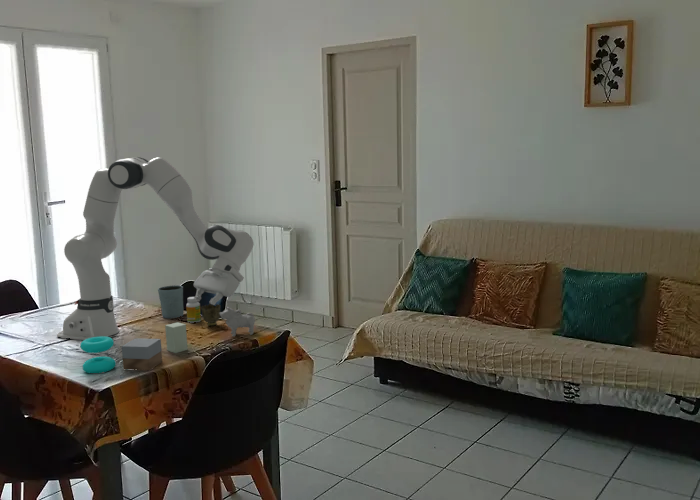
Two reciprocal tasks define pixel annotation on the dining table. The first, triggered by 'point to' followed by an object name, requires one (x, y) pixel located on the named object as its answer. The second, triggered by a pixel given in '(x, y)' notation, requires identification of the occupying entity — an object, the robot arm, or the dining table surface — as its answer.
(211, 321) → the cup
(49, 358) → the dining table surface
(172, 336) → the sage block
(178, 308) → the grey-blue plant pot
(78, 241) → the robot arm
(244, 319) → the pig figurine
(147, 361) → the tower bottom slab
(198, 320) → the supplement bottle
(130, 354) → the tower top slab
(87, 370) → the donuts
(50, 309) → the dining table surface
